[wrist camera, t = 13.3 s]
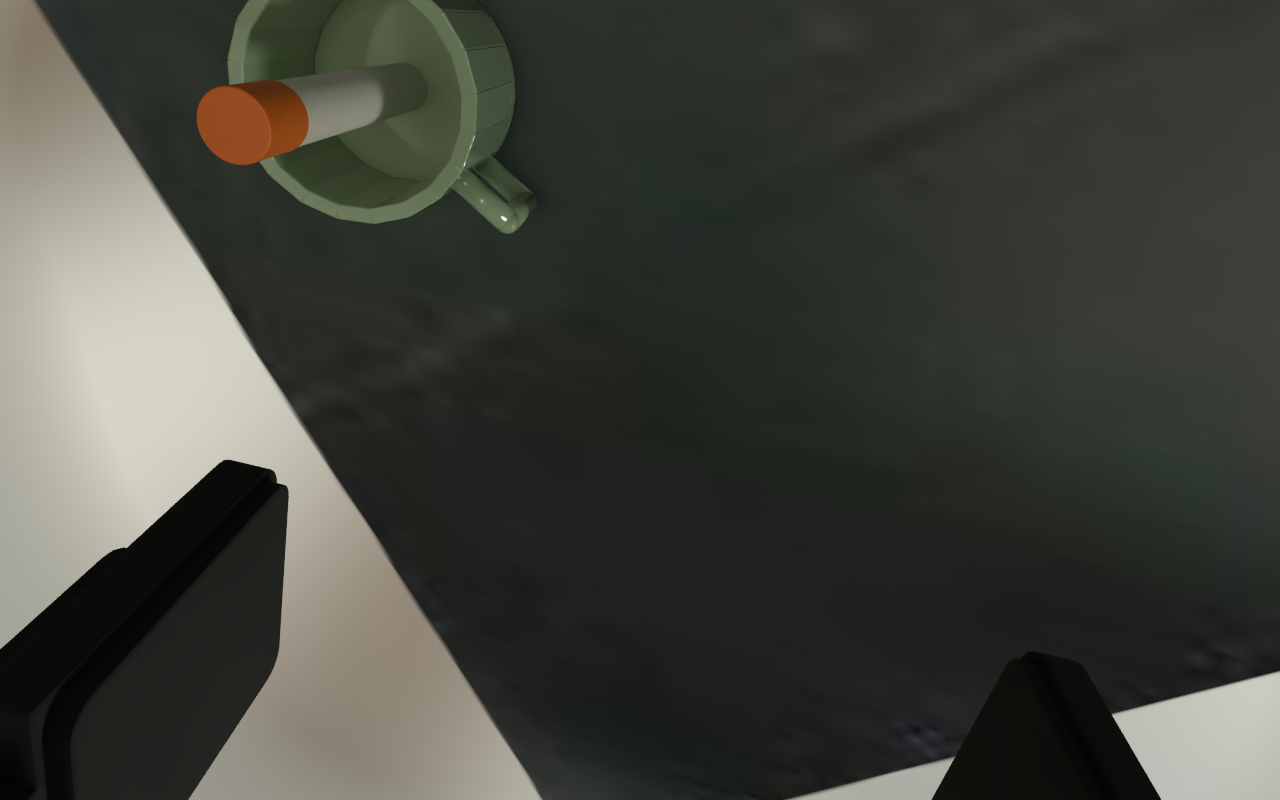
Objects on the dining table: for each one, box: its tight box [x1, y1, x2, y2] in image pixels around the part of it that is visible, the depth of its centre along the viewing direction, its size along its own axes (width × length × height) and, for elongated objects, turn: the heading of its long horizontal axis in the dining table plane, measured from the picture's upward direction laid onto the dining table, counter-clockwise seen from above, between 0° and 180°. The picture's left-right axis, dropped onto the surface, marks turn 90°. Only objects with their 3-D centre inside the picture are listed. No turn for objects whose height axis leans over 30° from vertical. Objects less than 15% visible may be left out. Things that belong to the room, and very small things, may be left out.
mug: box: [228, 0, 537, 234], centre depth 34 cm, size 12×9×7 cm
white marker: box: [197, 63, 426, 165], centre depth 30 cm, size 2×2×14 cm
